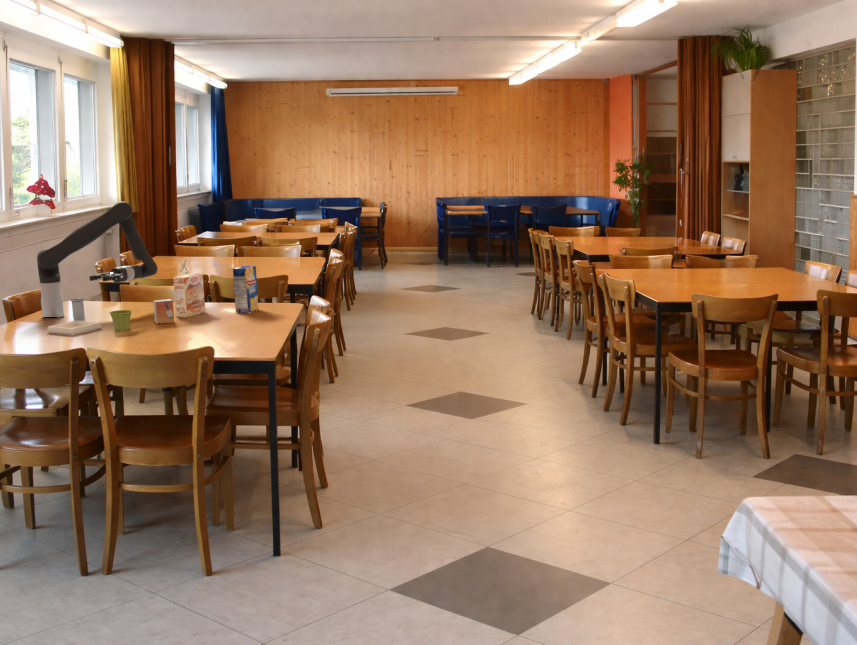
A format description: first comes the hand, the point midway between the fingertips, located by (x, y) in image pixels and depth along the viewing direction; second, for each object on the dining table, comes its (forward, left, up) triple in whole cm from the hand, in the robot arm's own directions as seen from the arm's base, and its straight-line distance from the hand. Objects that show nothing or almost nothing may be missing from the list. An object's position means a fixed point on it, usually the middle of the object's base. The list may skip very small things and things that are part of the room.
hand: (96, 278), depth 385 cm
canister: (0, -12, -20) cm, 23 cm away
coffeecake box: (+33, +26, -20) cm, 46 cm away
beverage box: (+54, +43, -20) cm, 72 cm away
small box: (+35, +6, -20) cm, 41 cm away
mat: (+13, -26, -20) cm, 35 cm away
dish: (+13, -26, -19) cm, 35 cm away
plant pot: (+31, -16, -20) cm, 40 cm away
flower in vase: (+14, +47, -20) cm, 53 cm away
